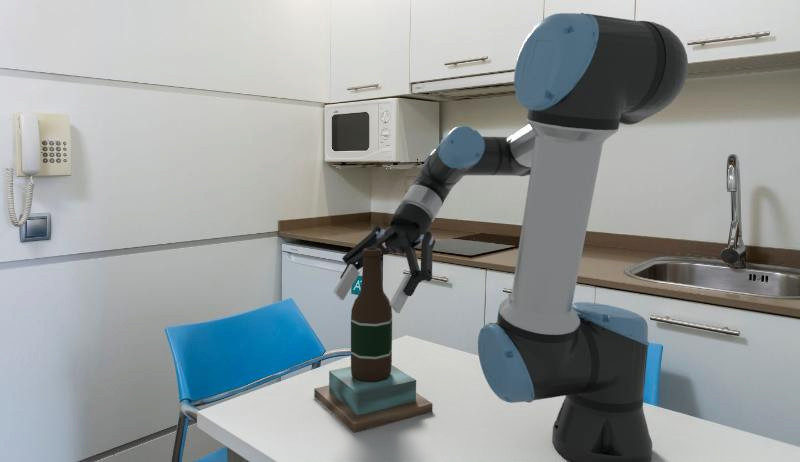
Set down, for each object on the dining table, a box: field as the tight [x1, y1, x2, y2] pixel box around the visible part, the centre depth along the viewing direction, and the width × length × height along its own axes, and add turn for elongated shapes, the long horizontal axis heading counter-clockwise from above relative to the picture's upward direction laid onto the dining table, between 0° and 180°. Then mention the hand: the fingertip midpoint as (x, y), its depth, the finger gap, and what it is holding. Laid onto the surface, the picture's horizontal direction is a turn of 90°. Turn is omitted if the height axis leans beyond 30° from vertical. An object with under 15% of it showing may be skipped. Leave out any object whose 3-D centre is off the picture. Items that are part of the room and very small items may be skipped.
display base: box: [313, 364, 434, 433], centre depth 107 cm, size 17×16×6 cm
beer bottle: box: [350, 248, 393, 382], centre depth 105 cm, size 8×8×24 cm
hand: (365, 302), depth 103 cm, fingers open, 13 cm apart
